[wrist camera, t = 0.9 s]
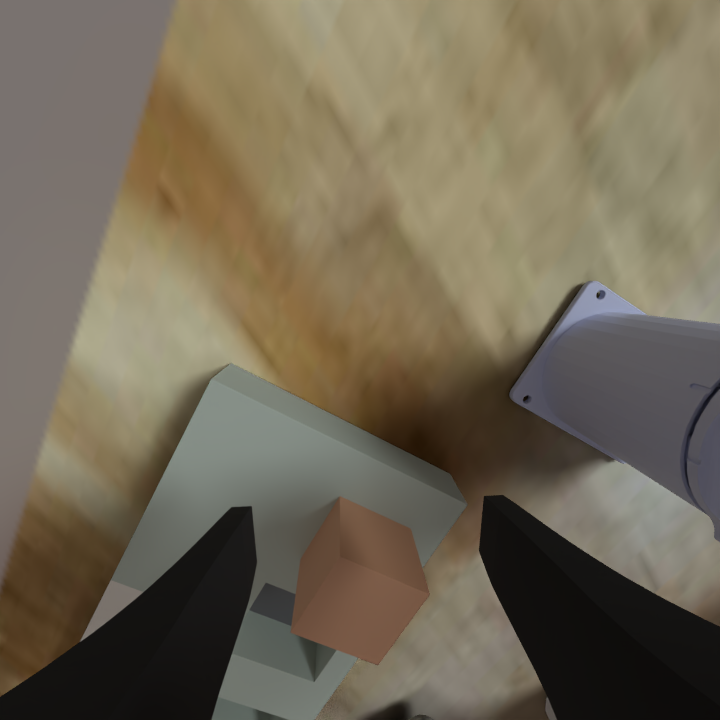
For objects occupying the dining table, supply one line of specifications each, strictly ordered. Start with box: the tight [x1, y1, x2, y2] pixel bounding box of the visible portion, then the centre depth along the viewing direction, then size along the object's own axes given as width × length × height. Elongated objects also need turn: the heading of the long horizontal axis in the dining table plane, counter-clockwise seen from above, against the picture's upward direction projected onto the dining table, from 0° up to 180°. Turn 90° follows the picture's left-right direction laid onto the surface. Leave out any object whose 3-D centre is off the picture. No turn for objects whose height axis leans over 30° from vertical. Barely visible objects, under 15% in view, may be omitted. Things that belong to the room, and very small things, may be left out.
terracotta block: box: [290, 496, 430, 665], centre depth 17 cm, size 4×4×4 cm
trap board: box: [80, 364, 468, 720], centre depth 21 cm, size 15×23×3 cm, turn 150°
